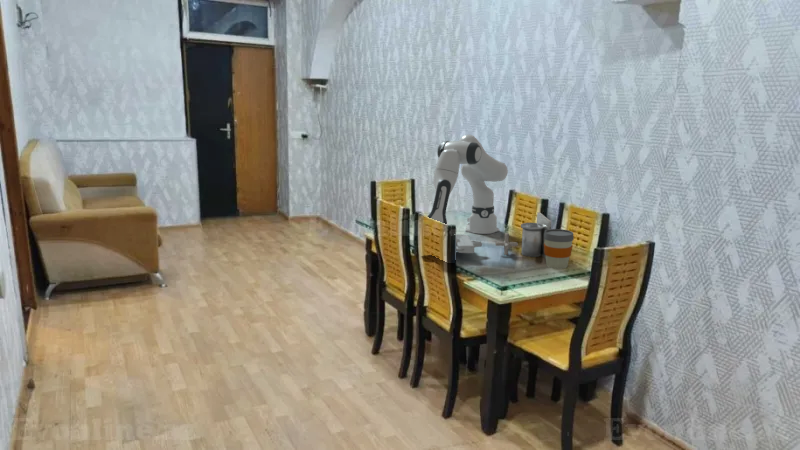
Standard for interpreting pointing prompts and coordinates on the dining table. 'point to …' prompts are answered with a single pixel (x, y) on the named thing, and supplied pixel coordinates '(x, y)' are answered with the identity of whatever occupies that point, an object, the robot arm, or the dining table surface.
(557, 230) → the reusable coffee cup
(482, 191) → the robot arm
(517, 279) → the dining table surface
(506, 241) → the pipe connector
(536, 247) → the duct stub
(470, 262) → the dining table surface
